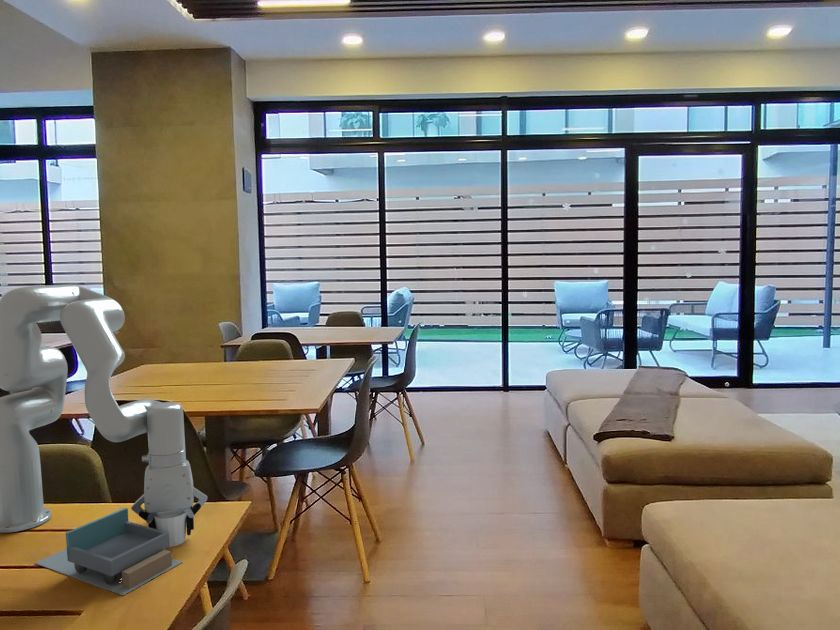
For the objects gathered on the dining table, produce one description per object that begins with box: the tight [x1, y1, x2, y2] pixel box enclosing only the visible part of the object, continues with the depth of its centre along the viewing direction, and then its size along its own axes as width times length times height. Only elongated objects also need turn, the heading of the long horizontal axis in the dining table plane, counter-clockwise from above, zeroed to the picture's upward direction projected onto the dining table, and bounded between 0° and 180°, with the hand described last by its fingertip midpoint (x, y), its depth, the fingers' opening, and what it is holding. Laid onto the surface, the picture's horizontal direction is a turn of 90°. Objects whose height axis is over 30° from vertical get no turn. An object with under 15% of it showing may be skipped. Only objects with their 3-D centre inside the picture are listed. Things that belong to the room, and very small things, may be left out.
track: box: [34, 548, 183, 597], centre depth 129 cm, size 28×14×3 cm, turn 63°
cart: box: [65, 507, 170, 584], centre depth 127 cm, size 14×14×8 cm
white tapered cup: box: [154, 509, 187, 548], centre depth 139 cm, size 7×7×7 cm
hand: (171, 534), depth 139 cm, fingers closed on white tapered cup, 6 cm apart
